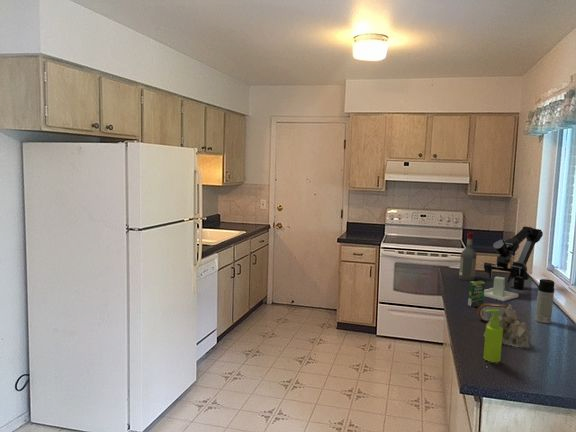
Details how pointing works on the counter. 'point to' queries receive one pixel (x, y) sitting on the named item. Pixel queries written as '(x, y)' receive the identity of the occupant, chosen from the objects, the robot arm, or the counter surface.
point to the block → (499, 286)
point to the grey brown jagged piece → (513, 329)
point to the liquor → (468, 261)
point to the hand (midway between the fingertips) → (499, 281)
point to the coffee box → (476, 293)
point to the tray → (505, 297)
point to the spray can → (544, 301)
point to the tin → (487, 316)
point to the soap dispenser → (493, 338)
